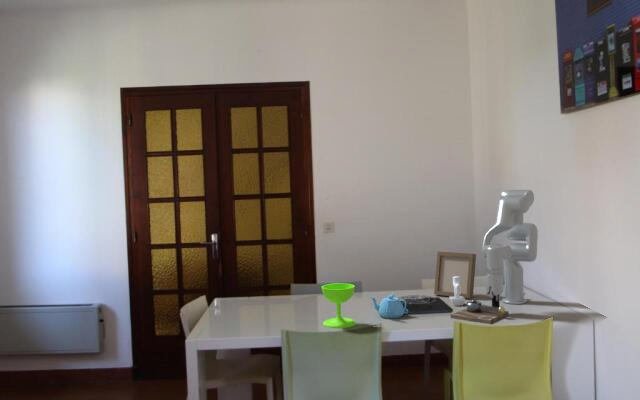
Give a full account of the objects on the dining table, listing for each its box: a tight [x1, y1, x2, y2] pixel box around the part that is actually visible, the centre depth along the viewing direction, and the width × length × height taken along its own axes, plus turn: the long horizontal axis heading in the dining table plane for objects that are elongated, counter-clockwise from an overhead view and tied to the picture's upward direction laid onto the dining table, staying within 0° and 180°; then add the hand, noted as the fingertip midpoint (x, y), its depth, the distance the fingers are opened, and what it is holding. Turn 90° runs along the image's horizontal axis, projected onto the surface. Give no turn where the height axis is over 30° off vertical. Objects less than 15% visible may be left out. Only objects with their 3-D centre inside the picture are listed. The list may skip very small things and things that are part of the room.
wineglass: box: [321, 282, 357, 329], centre depth 268 cm, size 16×16×18 cm
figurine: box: [448, 276, 466, 307], centre depth 299 cm, size 7×9×15 cm
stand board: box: [450, 307, 510, 325], centre depth 273 cm, size 21×20×2 cm
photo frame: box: [433, 251, 477, 300], centre depth 322 cm, size 15×22×25 cm
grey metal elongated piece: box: [466, 299, 506, 313], centre depth 274 cm, size 19×7×5 cm, turn 48°
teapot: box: [369, 291, 409, 319], centre depth 280 cm, size 15×15×10 cm
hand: (495, 308), depth 277 cm, fingers closed
